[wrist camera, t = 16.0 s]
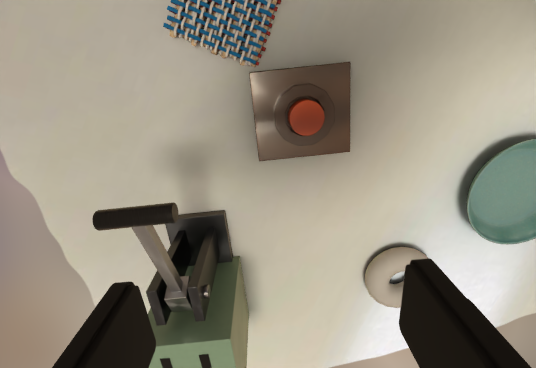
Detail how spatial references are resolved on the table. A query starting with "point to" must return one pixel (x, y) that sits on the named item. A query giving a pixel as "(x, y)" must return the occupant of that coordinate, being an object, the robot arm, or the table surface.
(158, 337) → the toaster
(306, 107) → the button
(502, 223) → the saucer
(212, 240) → the bracket
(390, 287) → the donut
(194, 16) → the woven mat
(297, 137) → the control block
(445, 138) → the table surface
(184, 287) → the lever
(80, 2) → the table surface
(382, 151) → the table surface
